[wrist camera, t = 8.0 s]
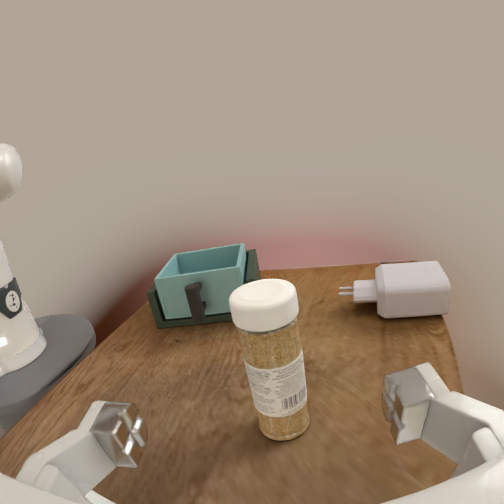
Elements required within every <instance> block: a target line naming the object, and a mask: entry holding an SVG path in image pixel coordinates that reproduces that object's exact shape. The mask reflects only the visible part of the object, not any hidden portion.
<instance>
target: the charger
mask: <svg viewBox="0 0 504 504" xmlns="http://www.w3.org/2000/svg"><path fill="white" fill-rule="evenodd" d="M339 289H340V290H354V292H342V293H339V296H346V295H354V303H363V302H377V313H378V314H379V315H380V316H382V317H383V318H401V317H416V316H429V315H441V314H448V311H449V302H450V292H451V287H450V282H449V280H448V278H447V276H446V274H445V273H444V271H443V270H442V268H441V266H440V265H439V263H438V262H437V261H429V262H414V263H398V264H382V265H380V266H378V267H377V268H376V269H375V280H359V281H354V287H340V288H339Z"/></svg>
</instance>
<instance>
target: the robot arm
mask: <svg viewBox="0 0 504 504" xmlns="http://www.w3.org/2000/svg"><path fill="white" fill-rule="evenodd" d="M22 172H23V168H22V162H21V159H20V156H19V154H18V153H17V151H16V150H15V149H14V148H13V147H12V146H11V145H10V144H8V143H0V203H1V202H2V201H4V200H6V199H7V198H9V197H10V196H12V195H14V194H15V193H16V192H17V191H18V189H19V186H20V184H21V180H22V174H23V173H22ZM46 344H47V341H46V339H45V338H44V336H43V331H42V329H41V328H38V326H37V324H36V322H35V320H34V318H33V317H32V315H31V312H30V311H29V309H28V307H27V305H26V303H25V301H23V300H22V299H21V292H20V289H19V285H18V283H17V281H16V279H15V278H14V277H13V275H12V273H11V270H10V267H9V263H8V260H7V257H6V253H5V250H4V247H3V243H2V242H1V240H0V377H2V376H3V375H5V374H7V373H10V372H13V371H16V370H18V369H20V368H22V367H24V366H26V365H28V364H29V363H31V362H32V361H33V360H35V359H36V358H37V357H38V356H39V355H40V354H41V353H42V352H43V350H44V349H45V347H46ZM383 385H384V387H385V389H386V390H385V391H384V393H383V394H382V409H383V413H384V416H385V419H386V421H388V422H390V423H391V428H390V431H391V434H392V436H393V438H394V441H395V443H396V445H397V444H401V443H404V442H408V441H411V440H415V439H418V438H421V440H423V441H424V442H426V443H427V444H429V445H430V446H432V447H433V448H435V449H436V450H438V451H439V452H441V453H442V454H444V455H445V456H447V457H448V458H450V459H451V460H453V461H454V462H456V463H457V464H458V465H457V467H456V469H455V471H454V473H453V475H452V476H451V478H450V480H447V481H445V482H442V483H440V484H437V485H435V486H432V487H430V488H427V489H424V490H421V491H419V492H416V493H413V494H410V495H407V496H404V497H401V498H397V499H394V500H391V501H387V502H384V503H380V504H504V410H501V409H498V408H496V407H493V406H491V405H488V404H485V403H483V402H480V401H478V400H475V399H473V398H470V397H468V396H465V395H463V394H460V393H458V392H455V391H453V392H450V391H449V390H448V388H447V387H446V385H445V384H444V382H443V381H442V380H441V378H440V377H439V375H438V374H437V373H436V371H435V370H434V368H433V367H432V366H431V364H430V363H428V362H427V363H424V364H421V365H417V366H414V367H411V368H408V369H404V370H401V371H397V372H393V373H390V374H386V375H385V377H384V382H383ZM137 414H138V409H137V407H136V405H135V404H133V403H127V402H112V401H95V402H93V403H92V405H91V407H90V408H89V410H88V412H87V413H86V415H85V417H84V418H83V420H82V422H81V423H80V425H79V427H78V428H77V430H72V431H70V432H69V433H67V434H66V435H64V436H62V437H61V438H59V439H57V440H56V441H54V442H53V443H51V444H49V445H48V446H46V447H44V448H43V449H41V450H39V451H38V452H36V453H34V454H33V455H31V456H29V457H28V458H27V460H26V462H25V463H24V465H23V467H22V468H21V470H20V472H19V473H18V475H17V476H16V478H15V479H13V478H11V477H9V476H6V475H4V474H2V473H0V504H92V503H91V502H90V501H89V500H88V499H87V498H86V497H85V495H86V494H87V493H88V492H89V491H91V490H92V489H93V488H94V487H95V486H96V485H97V484H98V483H99V482H100V481H102V480H103V479H104V478H105V477H106V476H107V475H108V474H109V473H110V472H111V471H112V470H113V469H115V468H116V466H125V467H135V468H137V467H138V464H139V461H140V458H141V455H142V452H141V450H140V448H141V447H143V446H144V445H145V444H146V441H147V436H148V430H147V426H146V424H145V422H144V420H143V419H142V418H140V417H139V416H138V415H137Z"/></svg>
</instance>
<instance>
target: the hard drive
mask: <svg viewBox="0 0 504 504" xmlns="http://www.w3.org/2000/svg"><path fill="white" fill-rule="evenodd" d="M85 497H86V498H87V499H88V500H89V501H90V502H91V503H92V504H115V503H113V502H112V501H110V500H108V499H106V498H104V497H103V496H101V495H99V494H98V493H96V492H94V491H92V490H91V491H89V492H88V493H87V494H86V495H85Z"/></svg>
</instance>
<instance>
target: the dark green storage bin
mask: <svg viewBox="0 0 504 504" xmlns="http://www.w3.org/2000/svg"><path fill="white" fill-rule="evenodd" d="M245 252H246V257H247V263H248V265H247V275H246V283H250V282H253V281H257V280H261V277H260V271H259V265H258V260H257V254H256V250H255V249H253V250H246V251H245ZM147 296H148V299H149V302H150V306H151V309H152V312H153V315H154V318H155V321H156V325H157V328H166V327H177V326H187V325H196V324H206V323H214V322H223V321H231V320H233V319H232V315H231V312H226V313H218V314H210V315H205V316H206V319H205V321H203V322H200V323H195V322H193V319H192V317H184V318H174V319H166V318H165V315H164V312H163V309H162V305H161V302H160V299H159V295H158V292H157V288H156V285H155V283H154V284H153V286H152V287H151V289H150V290H149V291H148V293H147Z"/></svg>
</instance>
